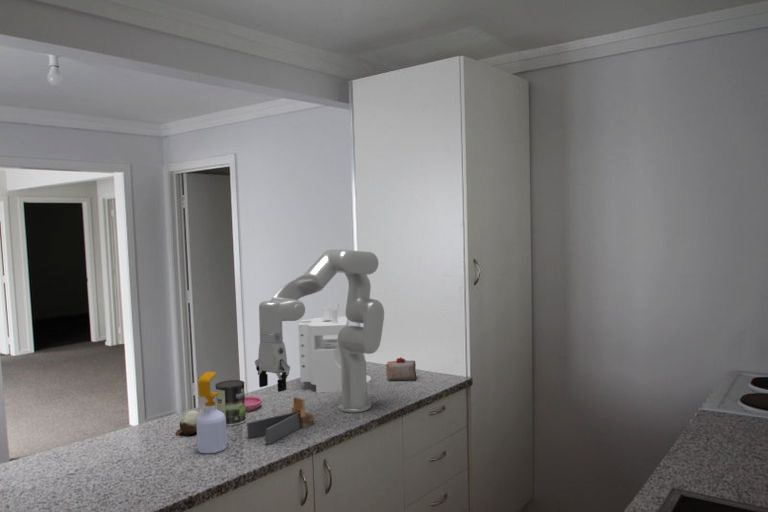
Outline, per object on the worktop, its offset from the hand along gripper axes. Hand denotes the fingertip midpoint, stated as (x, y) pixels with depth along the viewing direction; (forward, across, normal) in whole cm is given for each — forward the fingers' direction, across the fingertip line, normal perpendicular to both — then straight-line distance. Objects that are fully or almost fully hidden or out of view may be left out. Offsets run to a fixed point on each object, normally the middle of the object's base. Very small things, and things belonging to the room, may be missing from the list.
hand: (272, 388), depth 203 cm
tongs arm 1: (+16, +3, -2) cm, 16 cm away
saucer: (+16, +34, -14) cm, 40 cm away
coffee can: (+16, +25, -1) cm, 30 cm away
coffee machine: (+16, +29, -59) cm, 67 cm away
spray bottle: (+17, +7, +19) cm, 26 cm away
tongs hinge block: (+16, 0, -14) cm, 21 cm away
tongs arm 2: (+16, -3, -2) cm, 16 cm away
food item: (+15, +11, -82) cm, 84 cm away
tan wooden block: (+12, 0, -11) cm, 16 cm away
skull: (+17, +27, +14) cm, 34 cm away
